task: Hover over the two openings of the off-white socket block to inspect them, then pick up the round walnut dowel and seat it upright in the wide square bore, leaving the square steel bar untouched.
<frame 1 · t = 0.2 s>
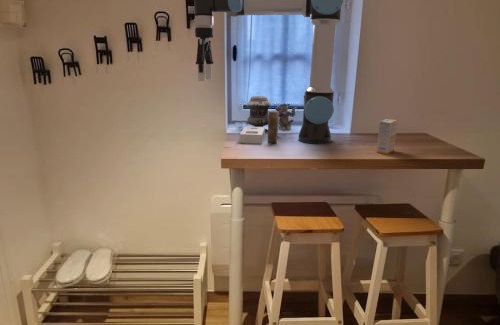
hand: (205, 80, 158), 28 cm above the table, fingers open, 13 cm apart
supplement box: (385, 152, 153), on the table
apothecary jar: (258, 131, 194), on the table
walnut dowel: (272, 142, 167), on the table
socket block: (252, 138, 175), on the table
square steel bar: (273, 136, 181), on the table
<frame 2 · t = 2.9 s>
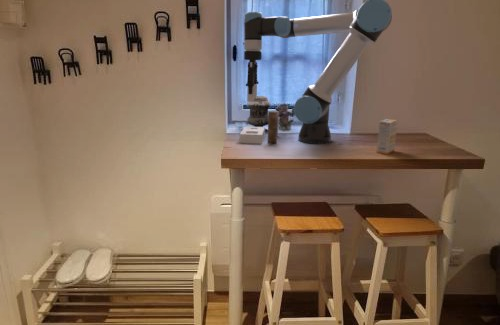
hand: (252, 100, 165), 19 cm above the table, fingers open, 13 cm apart
nothing on the table moved.
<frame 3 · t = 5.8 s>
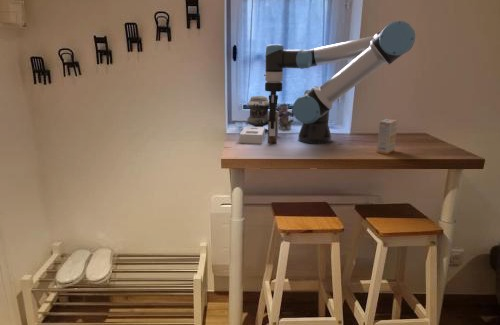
hand: (272, 134, 166), 4 cm above the table, fingers closed on walnut dowel, 4 cm apart
walnut dowel: (272, 142, 167), on the table, touching gripper
everything else where it was.
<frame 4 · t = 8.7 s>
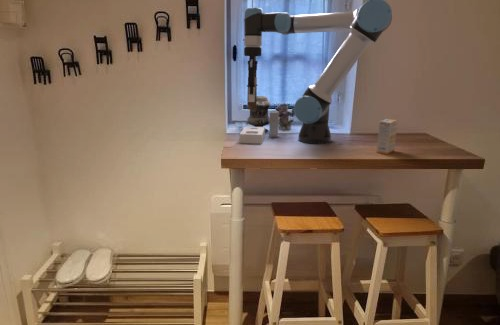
hand: (252, 101, 165), 18 cm above the table, fingers closed on walnut dowel, 4 cm apart
walnut dowel: (251, 109, 166), point 15 cm above the table, touching gripper
everything else where it was.
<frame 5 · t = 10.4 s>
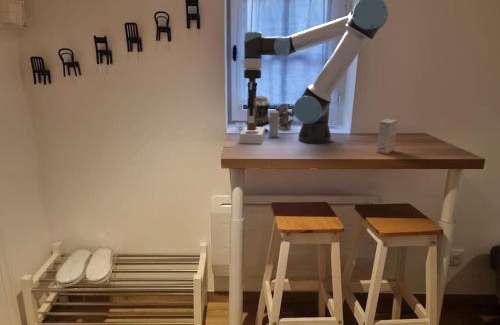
hand: (251, 121, 168), 9 cm above the table, fingers closed on walnut dowel, 4 cm apart
walnut dowel: (251, 129, 169), point 5 cm above the table, touching gripper
everything else where it was.
when the fingers open (6 cm above the table, at t = 11.6 s): walnut dowel drops 1 cm, resting in socket block.
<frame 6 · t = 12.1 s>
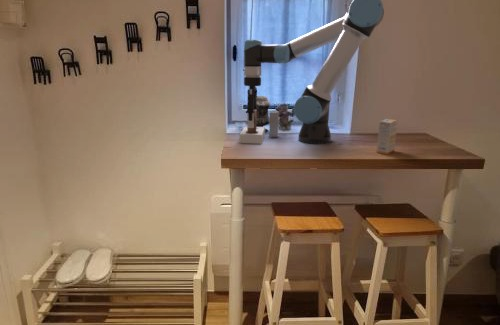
hand: (252, 125, 168), 7 cm above the table, fingers open, 11 cm apart
walnut dowel: (251, 140, 170), resting in socket block
everything else where it was.
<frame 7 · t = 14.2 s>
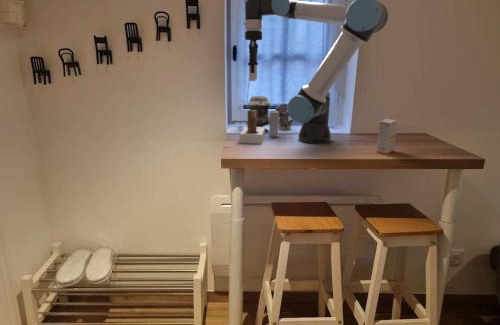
hand: (253, 80, 167), 27 cm above the table, fingers open, 13 cm apart
nothing on the table moved.
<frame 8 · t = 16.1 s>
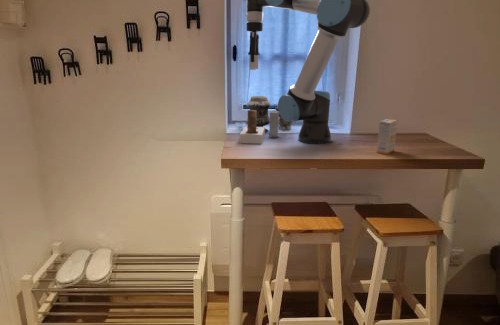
hand: (254, 69, 177), 32 cm above the table, fingers open, 13 cm apart
nothing on the table moved.
at the end: walnut dowel 0.0 cm from the target spot on the socket block, point 0.0 cm above the socket block's base; walnut dowel tilted 0°; the gripper is holding nothing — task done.
